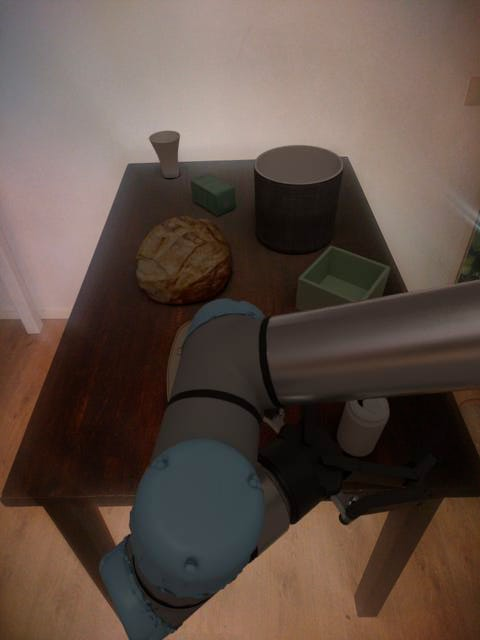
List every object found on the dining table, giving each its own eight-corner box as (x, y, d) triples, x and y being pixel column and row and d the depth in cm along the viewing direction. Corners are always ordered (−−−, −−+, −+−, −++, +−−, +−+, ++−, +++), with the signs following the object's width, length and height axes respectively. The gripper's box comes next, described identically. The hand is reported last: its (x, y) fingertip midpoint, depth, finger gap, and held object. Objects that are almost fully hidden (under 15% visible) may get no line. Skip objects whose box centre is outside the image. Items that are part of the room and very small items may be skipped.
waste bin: (381, 297, 89) (391, 267, 83) (353, 335, 82) (361, 305, 75) (326, 274, 96) (330, 245, 89) (295, 308, 88) (297, 278, 82)
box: (218, 217, 117) (216, 194, 111) (192, 201, 124) (189, 179, 119) (236, 208, 120) (235, 186, 114) (210, 194, 127) (208, 172, 122)
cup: (186, 180, 135) (180, 140, 125) (156, 183, 134) (148, 144, 124) (185, 167, 142) (179, 129, 132) (157, 170, 141) (149, 132, 131)
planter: (246, 219, 115) (243, 152, 101) (314, 206, 119) (321, 139, 104) (269, 262, 100) (270, 191, 86) (346, 246, 104) (360, 175, 89)
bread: (217, 239, 111) (210, 189, 101) (251, 291, 92) (246, 236, 82) (133, 260, 106) (117, 210, 96) (149, 321, 87) (131, 266, 77)
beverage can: (352, 416, 69) (364, 378, 60) (382, 442, 65) (400, 405, 56) (328, 439, 66) (338, 401, 57) (358, 466, 62) (373, 431, 54)
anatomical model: (220, 429, 68) (217, 415, 64) (164, 431, 68) (159, 416, 65) (223, 333, 84) (221, 317, 80) (178, 335, 84) (174, 319, 81)
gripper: (193, 412, 45) (315, 344, 56) (345, 628, 34) (461, 490, 45) (200, 376, 40) (333, 309, 51) (383, 618, 28) (504, 464, 39)
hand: (393, 393), depth 48 cm, fingers open, 13 cm apart
